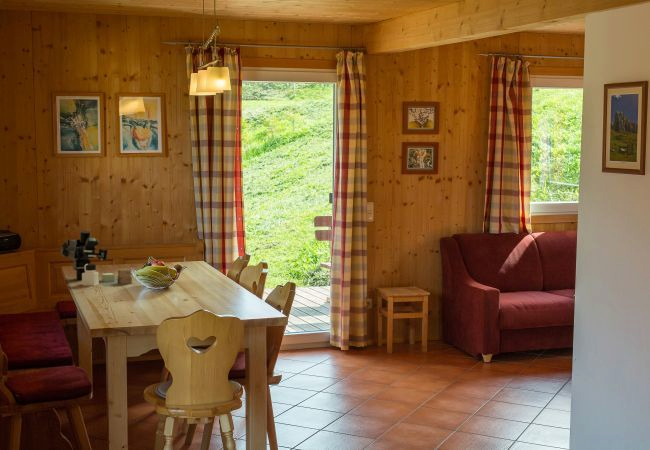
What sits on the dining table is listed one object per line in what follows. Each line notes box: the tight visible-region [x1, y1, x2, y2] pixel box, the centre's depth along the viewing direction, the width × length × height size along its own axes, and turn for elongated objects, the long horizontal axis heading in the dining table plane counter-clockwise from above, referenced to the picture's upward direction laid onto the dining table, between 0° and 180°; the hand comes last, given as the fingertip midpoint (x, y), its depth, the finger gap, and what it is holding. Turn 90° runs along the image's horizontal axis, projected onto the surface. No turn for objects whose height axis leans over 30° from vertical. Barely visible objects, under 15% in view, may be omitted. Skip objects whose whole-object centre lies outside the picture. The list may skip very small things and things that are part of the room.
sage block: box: [101, 272, 116, 282], centre depth 491 cm, size 6×6×4 cm
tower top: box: [117, 268, 132, 277], centre depth 482 cm, size 6×6×4 cm
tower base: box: [116, 275, 133, 286], centre depth 483 cm, size 6×6×4 cm
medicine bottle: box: [81, 263, 100, 286], centre depth 478 cm, size 7×7×12 cm
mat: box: [99, 278, 135, 287], centre depth 486 cm, size 23×17×1 cm
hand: (95, 257), depth 475 cm, fingers open, 9 cm apart
